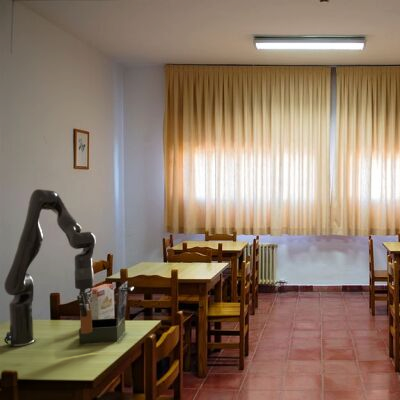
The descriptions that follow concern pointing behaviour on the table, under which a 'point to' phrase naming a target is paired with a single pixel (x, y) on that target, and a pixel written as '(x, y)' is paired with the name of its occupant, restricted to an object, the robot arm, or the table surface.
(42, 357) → the table surface
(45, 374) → the table surface
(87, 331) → the bottle
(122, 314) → the lid
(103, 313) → the cracker box
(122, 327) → the warmer
